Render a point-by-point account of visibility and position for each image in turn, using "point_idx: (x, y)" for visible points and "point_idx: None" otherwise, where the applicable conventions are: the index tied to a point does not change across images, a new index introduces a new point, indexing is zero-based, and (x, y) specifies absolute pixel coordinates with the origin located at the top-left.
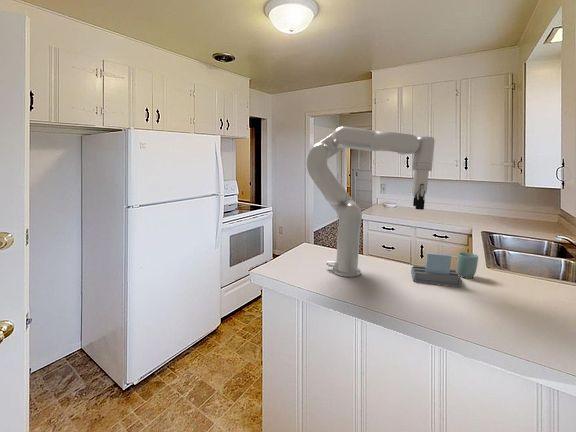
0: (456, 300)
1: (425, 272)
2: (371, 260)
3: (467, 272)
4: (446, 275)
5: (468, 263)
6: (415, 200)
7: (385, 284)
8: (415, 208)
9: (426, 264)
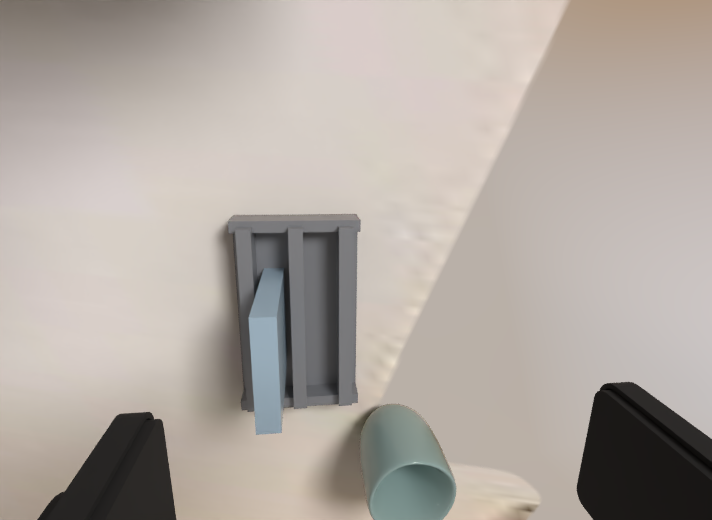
0: (90, 357)
1: (266, 277)
2: (511, 4)
3: (360, 442)
4: (249, 362)
5: (364, 473)
6: (691, 504)
7: (134, 75)
8: (132, 414)
9: (257, 292)
